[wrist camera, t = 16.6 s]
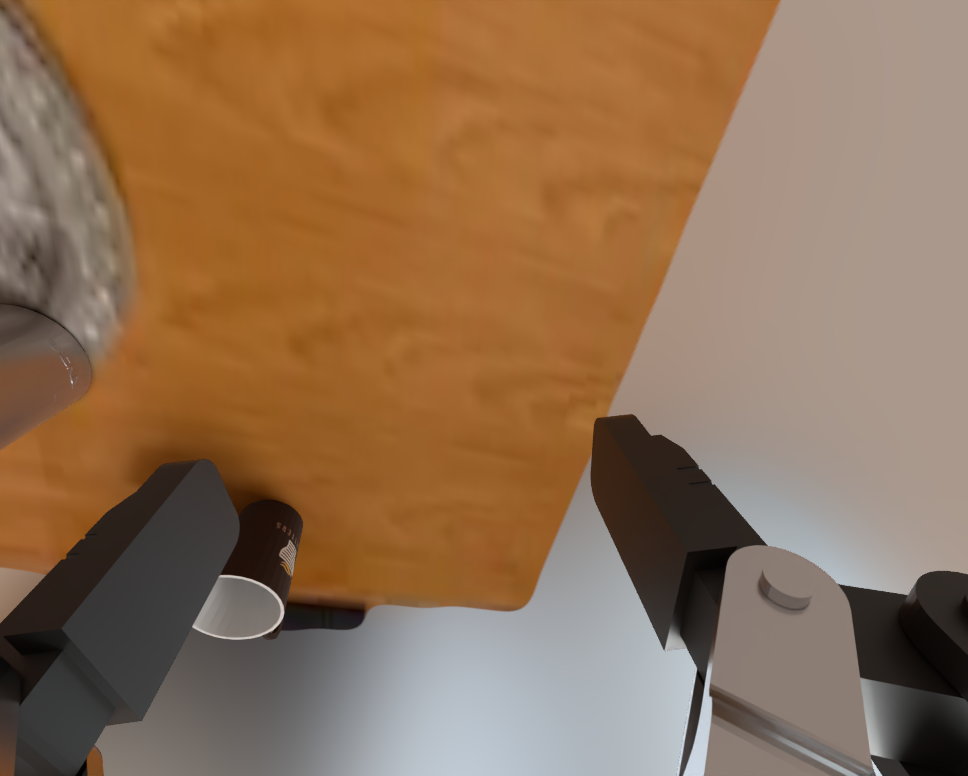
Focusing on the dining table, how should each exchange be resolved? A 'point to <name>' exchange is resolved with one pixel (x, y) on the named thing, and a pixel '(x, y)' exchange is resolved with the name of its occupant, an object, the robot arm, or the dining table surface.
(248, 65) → the dining table surface
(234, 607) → the coffee mug
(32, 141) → the dining table surface
